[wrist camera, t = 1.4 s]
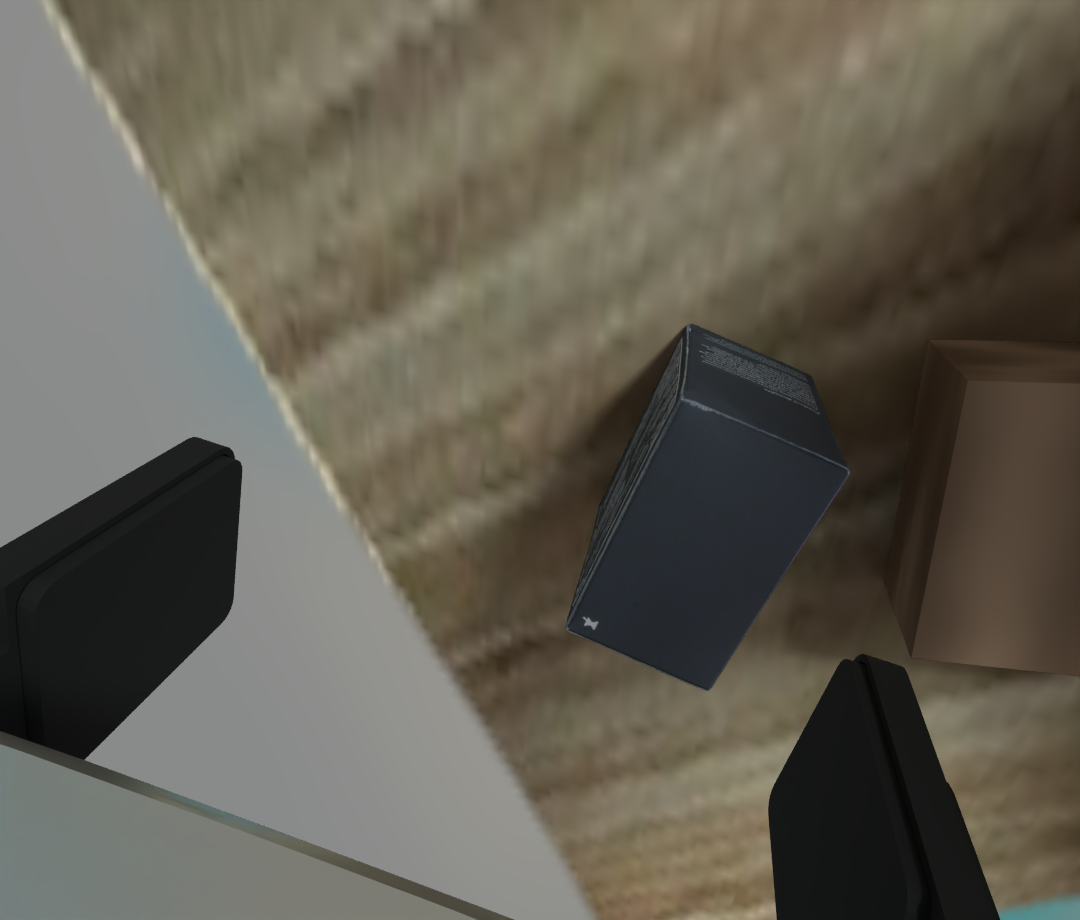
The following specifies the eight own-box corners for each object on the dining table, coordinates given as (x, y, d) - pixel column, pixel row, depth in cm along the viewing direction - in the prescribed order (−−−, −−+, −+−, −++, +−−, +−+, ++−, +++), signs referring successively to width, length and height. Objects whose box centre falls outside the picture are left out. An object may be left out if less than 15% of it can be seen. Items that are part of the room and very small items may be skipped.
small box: (715, 561, 38) (712, 704, 28) (596, 508, 38) (554, 632, 29) (822, 377, 33) (862, 476, 24) (686, 318, 33) (671, 393, 24)
